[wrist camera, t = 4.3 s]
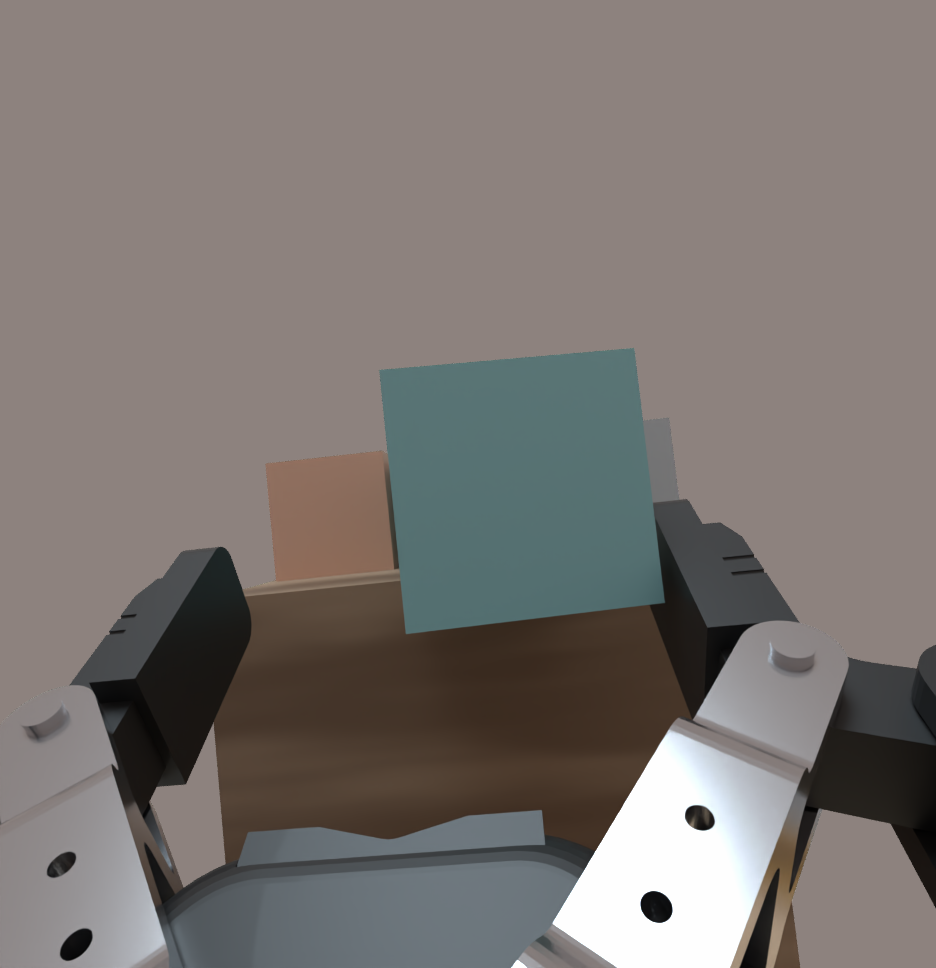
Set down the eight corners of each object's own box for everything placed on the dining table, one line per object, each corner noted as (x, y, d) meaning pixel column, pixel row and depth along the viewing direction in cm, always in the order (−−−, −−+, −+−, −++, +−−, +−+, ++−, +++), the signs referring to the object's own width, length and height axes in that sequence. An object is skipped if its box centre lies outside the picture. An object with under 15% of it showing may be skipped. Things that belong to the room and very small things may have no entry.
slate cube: (684, 540, 24) (669, 417, 24) (560, 552, 24) (546, 431, 25) (657, 535, 29) (645, 432, 29) (553, 546, 29) (541, 444, 29)
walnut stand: (903, 1774, 17) (746, 545, 19) (302, 1763, 18) (203, 600, 20) (723, 1189, 32) (644, 531, 34) (398, 1201, 33) (337, 563, 35)
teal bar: (664, 603, 10) (633, 347, 10) (405, 633, 10) (379, 370, 10) (489, 547, 34) (481, 470, 34) (411, 556, 34) (403, 478, 34)
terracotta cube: (394, 569, 25) (382, 450, 25) (276, 581, 25) (265, 463, 25) (409, 561, 29) (399, 460, 30) (309, 571, 30) (300, 471, 30)
